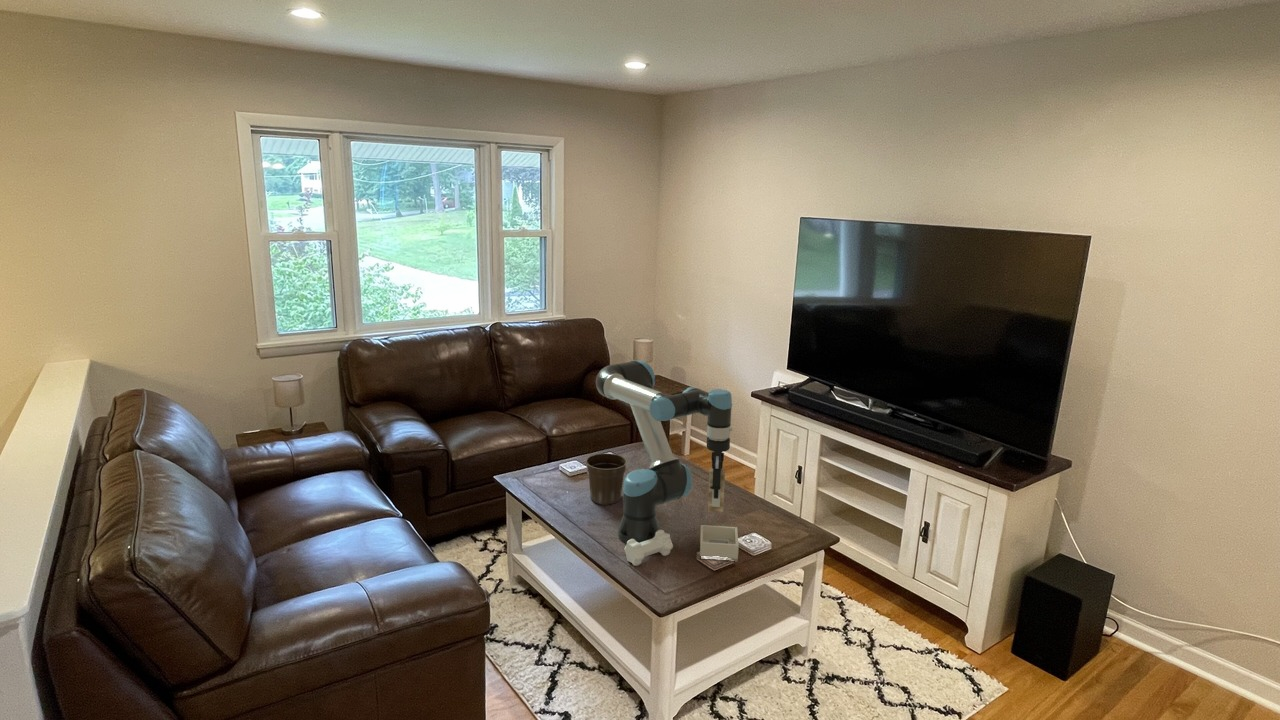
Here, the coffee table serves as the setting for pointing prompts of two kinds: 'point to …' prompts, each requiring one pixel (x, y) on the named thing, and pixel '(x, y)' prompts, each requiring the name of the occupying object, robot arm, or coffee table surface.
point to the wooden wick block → (722, 480)
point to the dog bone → (648, 547)
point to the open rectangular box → (719, 541)
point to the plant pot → (606, 477)
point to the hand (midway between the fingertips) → (715, 503)
